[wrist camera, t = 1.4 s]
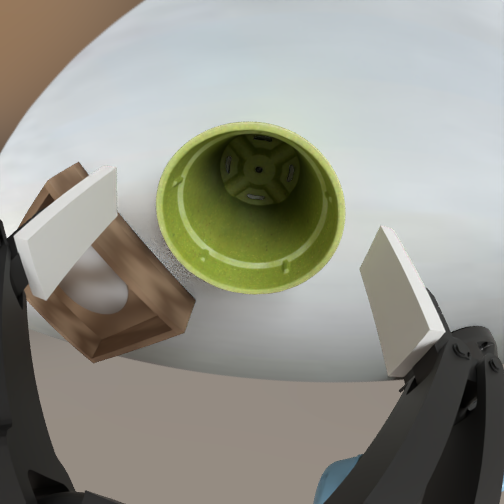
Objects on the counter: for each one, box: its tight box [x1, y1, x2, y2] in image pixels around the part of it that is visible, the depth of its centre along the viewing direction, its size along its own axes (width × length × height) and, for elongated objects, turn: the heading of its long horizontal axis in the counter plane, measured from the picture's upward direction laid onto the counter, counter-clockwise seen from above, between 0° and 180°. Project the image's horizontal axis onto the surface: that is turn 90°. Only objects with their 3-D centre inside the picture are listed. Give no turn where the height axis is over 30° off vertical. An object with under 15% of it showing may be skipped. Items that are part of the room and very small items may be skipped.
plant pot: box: [156, 122, 345, 294], centre depth 17 cm, size 9×9×9 cm
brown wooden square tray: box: [18, 162, 196, 363], centre depth 27 cm, size 18×18×4 cm
